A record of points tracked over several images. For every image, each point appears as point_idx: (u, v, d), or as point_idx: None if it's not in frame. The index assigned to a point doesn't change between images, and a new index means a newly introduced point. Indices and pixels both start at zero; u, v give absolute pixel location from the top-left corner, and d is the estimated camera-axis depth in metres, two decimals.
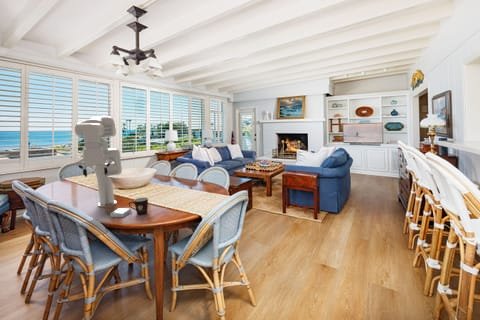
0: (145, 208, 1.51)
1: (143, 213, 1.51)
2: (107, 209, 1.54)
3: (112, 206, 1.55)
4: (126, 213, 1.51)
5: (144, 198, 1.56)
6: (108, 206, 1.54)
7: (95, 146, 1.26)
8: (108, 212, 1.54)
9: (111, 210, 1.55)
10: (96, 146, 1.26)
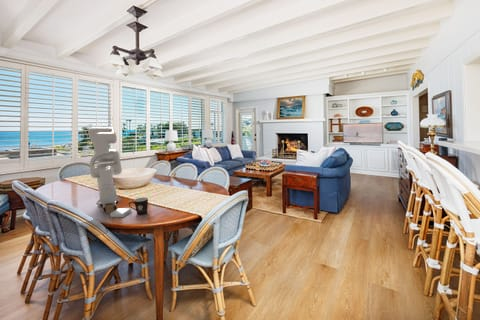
0: (145, 208, 1.51)
1: (143, 213, 1.51)
2: (107, 209, 1.54)
3: (112, 206, 1.55)
4: (126, 213, 1.51)
5: (144, 198, 1.56)
6: (108, 206, 1.54)
7: (110, 187, 1.53)
8: (108, 212, 1.54)
9: (111, 210, 1.55)
10: (111, 187, 1.53)
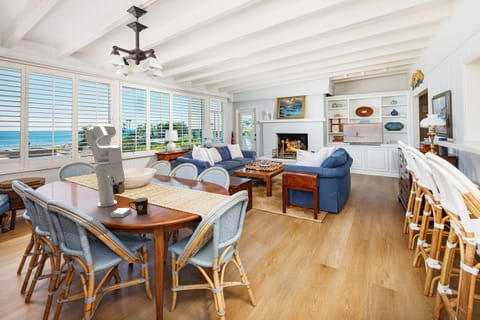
0: (145, 208, 1.51)
1: (143, 213, 1.51)
2: (120, 188, 1.49)
3: (123, 185, 1.51)
4: (126, 213, 1.51)
5: (144, 198, 1.56)
6: (121, 185, 1.49)
7: (122, 165, 1.50)
8: (121, 191, 1.49)
9: (123, 189, 1.51)
10: (122, 165, 1.50)
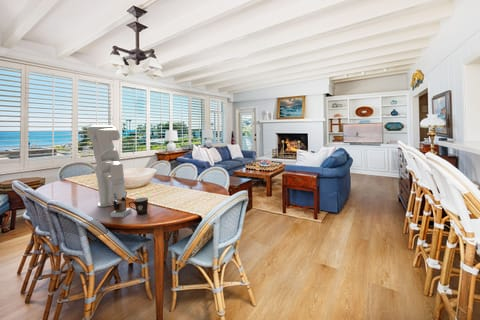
0: (145, 208, 1.51)
1: (143, 213, 1.51)
2: (122, 206, 1.50)
3: (125, 203, 1.53)
4: (126, 213, 1.51)
5: (144, 198, 1.56)
6: (123, 203, 1.51)
7: None
8: (123, 209, 1.51)
9: (124, 207, 1.53)
10: None
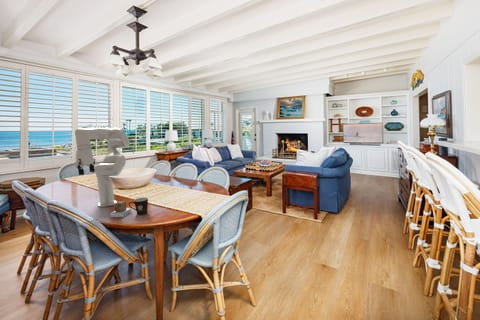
0: (145, 208, 1.51)
1: (143, 213, 1.51)
2: (122, 206, 1.50)
3: (125, 203, 1.53)
4: (126, 213, 1.51)
5: (144, 198, 1.56)
6: (123, 203, 1.51)
7: (90, 147, 1.50)
8: (123, 209, 1.51)
9: (124, 207, 1.53)
10: (90, 147, 1.50)
